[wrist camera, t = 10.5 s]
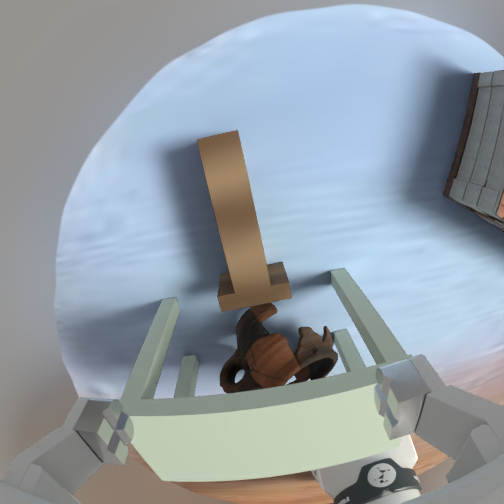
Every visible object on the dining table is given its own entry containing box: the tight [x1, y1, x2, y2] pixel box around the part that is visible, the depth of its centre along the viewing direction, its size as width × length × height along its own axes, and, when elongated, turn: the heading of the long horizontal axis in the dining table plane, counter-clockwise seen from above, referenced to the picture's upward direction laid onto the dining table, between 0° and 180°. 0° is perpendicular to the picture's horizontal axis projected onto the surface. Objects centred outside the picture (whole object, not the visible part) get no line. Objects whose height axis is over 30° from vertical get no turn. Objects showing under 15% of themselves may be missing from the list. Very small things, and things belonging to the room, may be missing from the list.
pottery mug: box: [220, 302, 338, 394], centre depth 30 cm, size 12×9×8 cm
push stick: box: [197, 130, 292, 312], centre depth 25 cm, size 14×6×4 cm, turn 12°
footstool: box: [117, 268, 412, 482], centre depth 24 cm, size 9×19×16 cm, turn 100°
